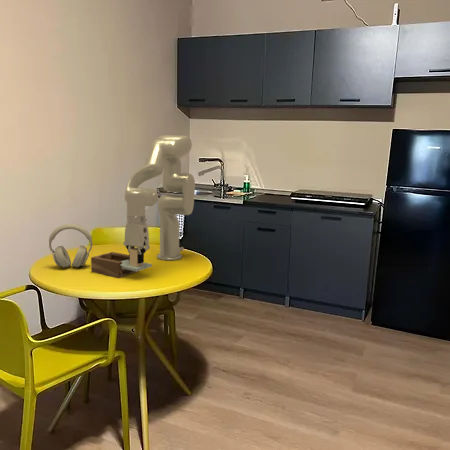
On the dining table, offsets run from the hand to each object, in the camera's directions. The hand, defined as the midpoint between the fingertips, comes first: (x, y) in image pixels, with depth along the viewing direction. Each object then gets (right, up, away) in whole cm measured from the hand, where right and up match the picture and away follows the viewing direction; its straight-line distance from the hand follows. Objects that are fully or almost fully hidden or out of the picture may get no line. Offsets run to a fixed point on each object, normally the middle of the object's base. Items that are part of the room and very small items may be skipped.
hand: (136, 261), depth 195 cm
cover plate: (-2, -2, +2) cm, 4 cm away
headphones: (-32, -4, +12) cm, 34 cm away
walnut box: (-11, -5, +7) cm, 14 cm away
